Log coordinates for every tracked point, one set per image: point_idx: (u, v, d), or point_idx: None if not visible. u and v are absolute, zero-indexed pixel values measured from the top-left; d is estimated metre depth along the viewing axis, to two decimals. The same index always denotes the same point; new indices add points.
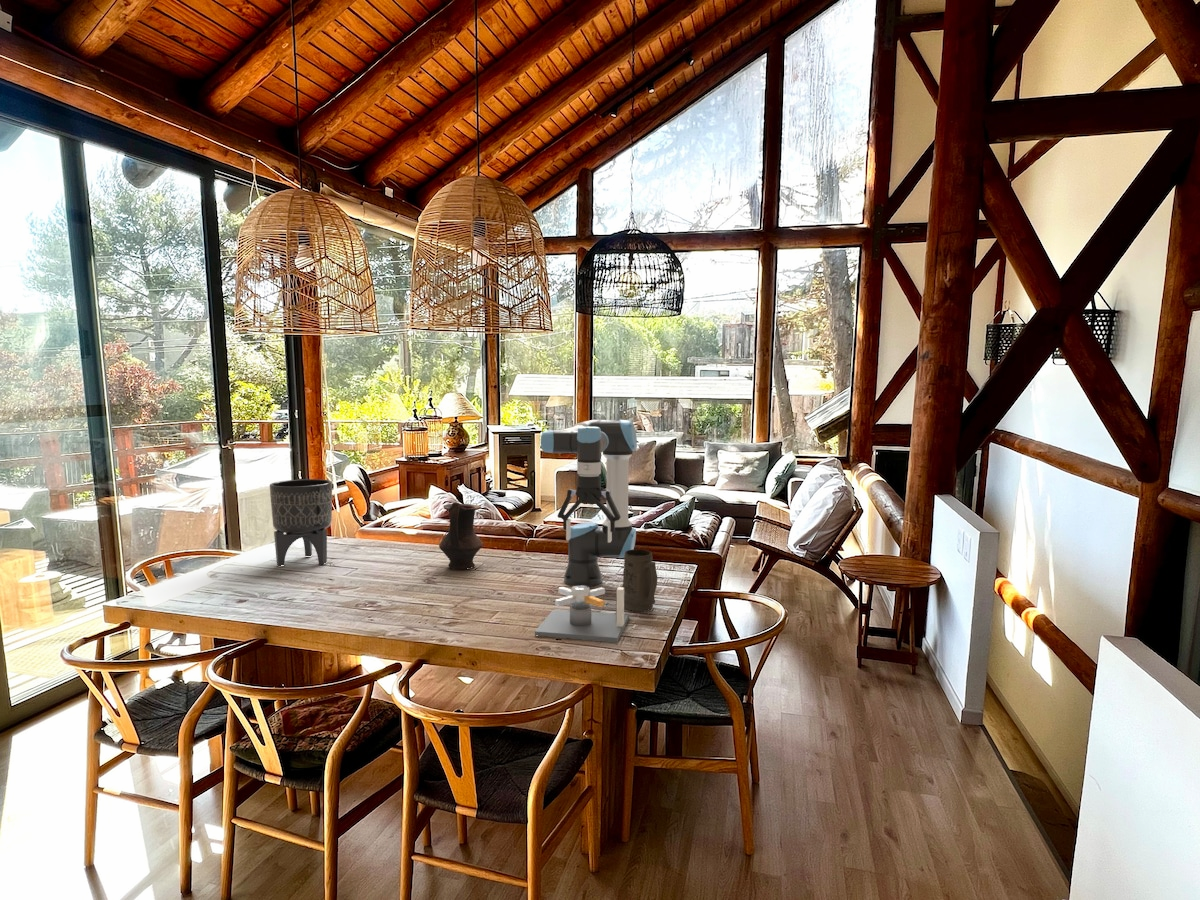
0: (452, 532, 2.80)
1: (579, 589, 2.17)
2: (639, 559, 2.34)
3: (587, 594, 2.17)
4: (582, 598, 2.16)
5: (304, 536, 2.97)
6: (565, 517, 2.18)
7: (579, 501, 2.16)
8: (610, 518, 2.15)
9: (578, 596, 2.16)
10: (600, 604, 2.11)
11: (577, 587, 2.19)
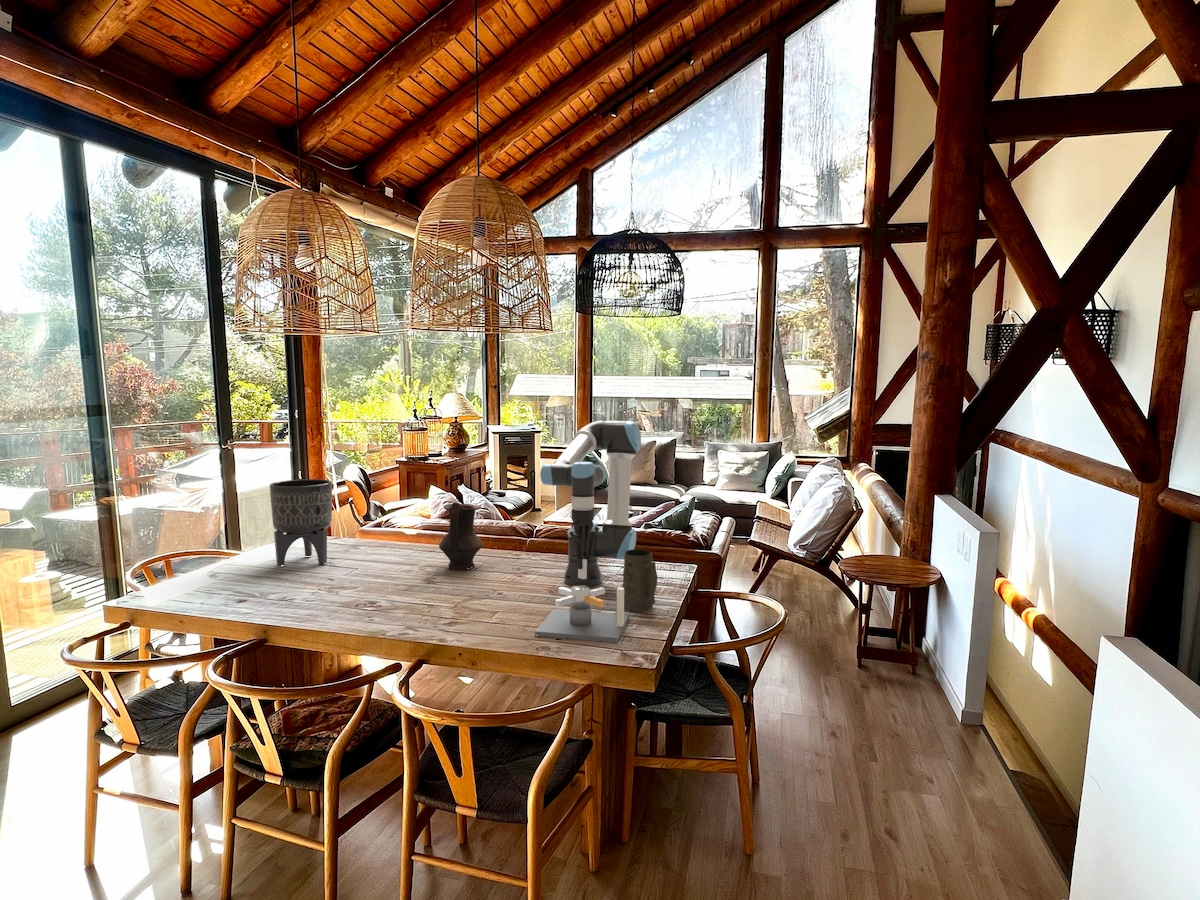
0: (452, 532, 2.80)
1: (579, 589, 2.17)
2: (639, 559, 2.34)
3: (587, 594, 2.17)
4: (582, 598, 2.16)
5: (304, 536, 2.97)
6: None
7: None
8: None
9: (578, 596, 2.16)
10: (600, 604, 2.11)
11: (577, 587, 2.19)
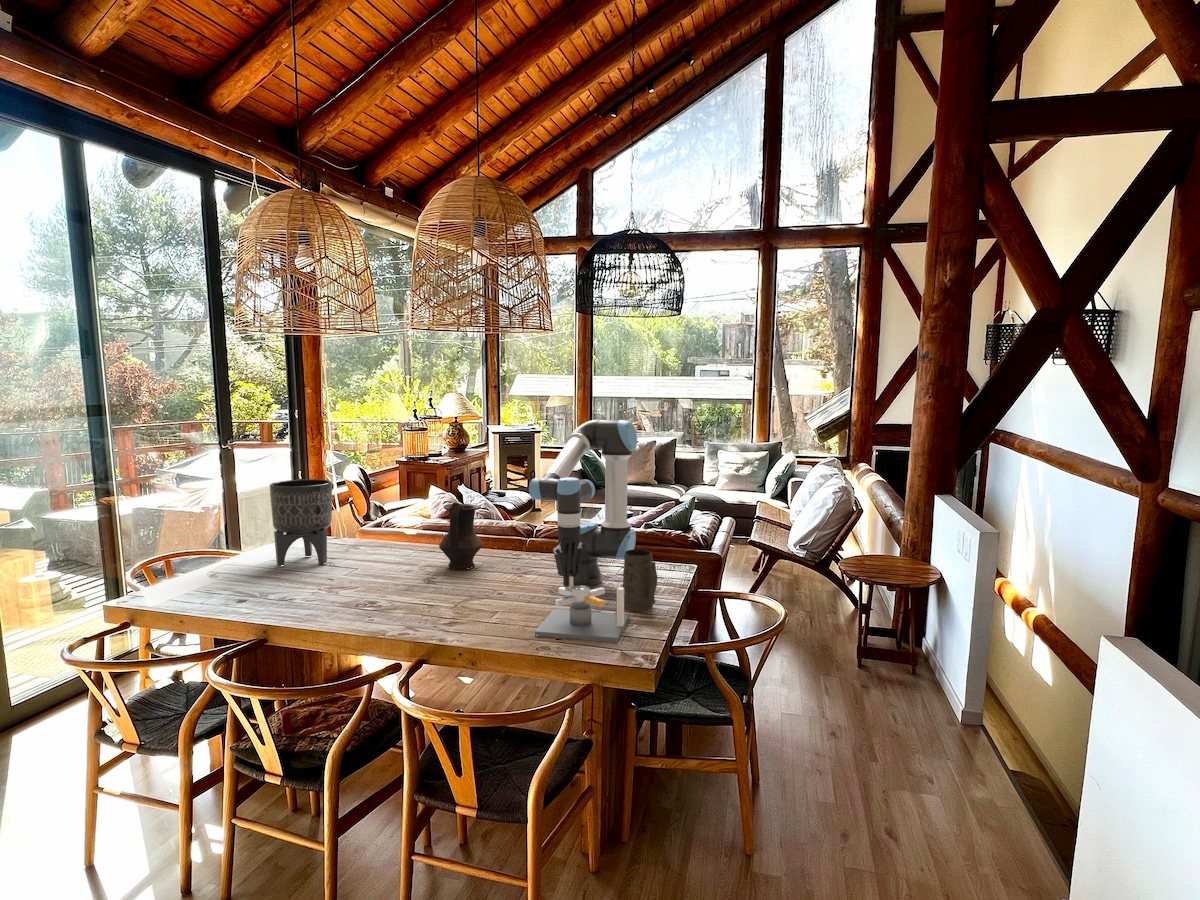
0: (452, 532, 2.80)
1: (579, 589, 2.17)
2: (639, 559, 2.34)
3: (587, 594, 2.17)
4: (582, 598, 2.16)
5: (304, 536, 2.97)
6: None
7: None
8: None
9: (578, 596, 2.16)
10: (600, 604, 2.11)
11: (577, 587, 2.19)
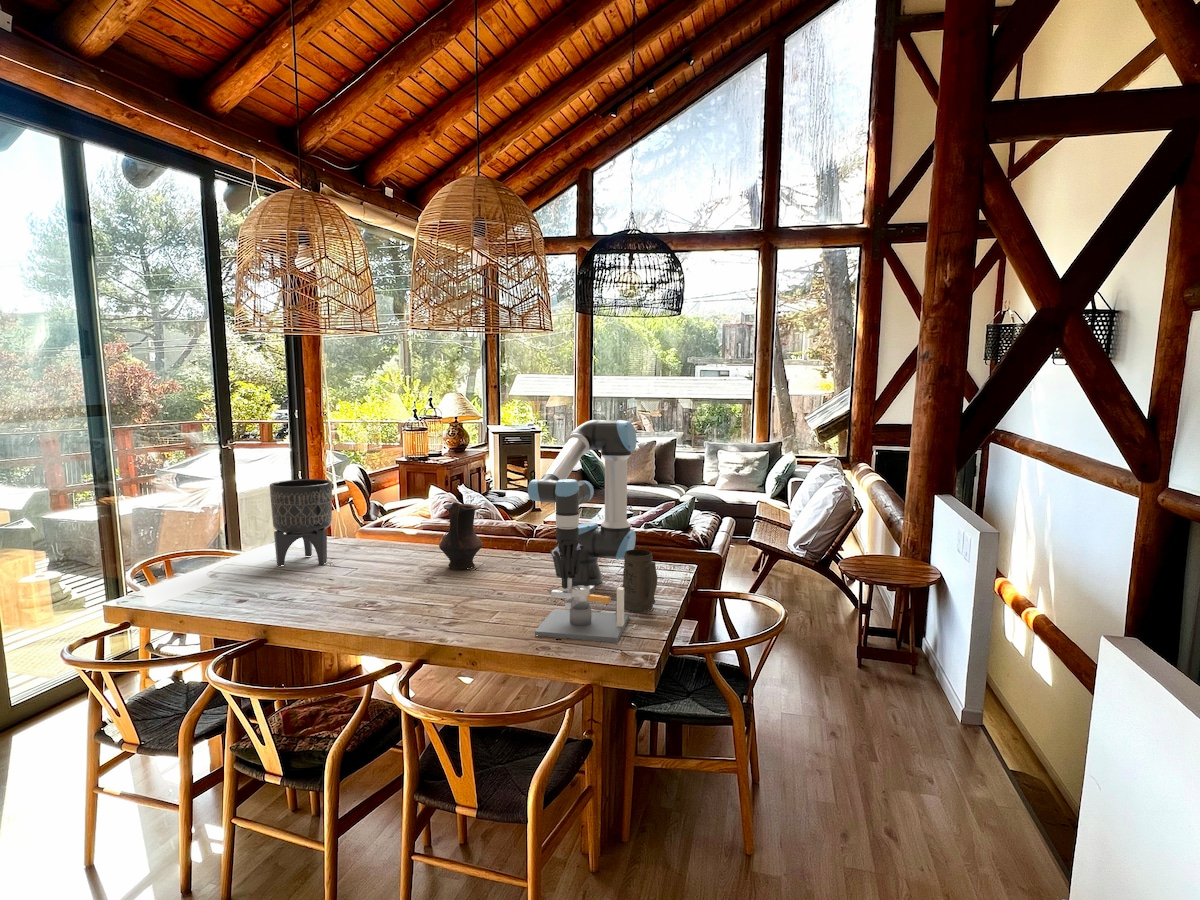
0: (452, 532, 2.80)
1: (581, 589, 2.17)
2: (639, 559, 2.34)
3: (589, 593, 2.18)
4: (586, 597, 2.16)
5: (304, 536, 2.97)
6: None
7: None
8: None
9: (582, 596, 2.16)
10: (608, 601, 2.15)
11: (576, 587, 2.19)
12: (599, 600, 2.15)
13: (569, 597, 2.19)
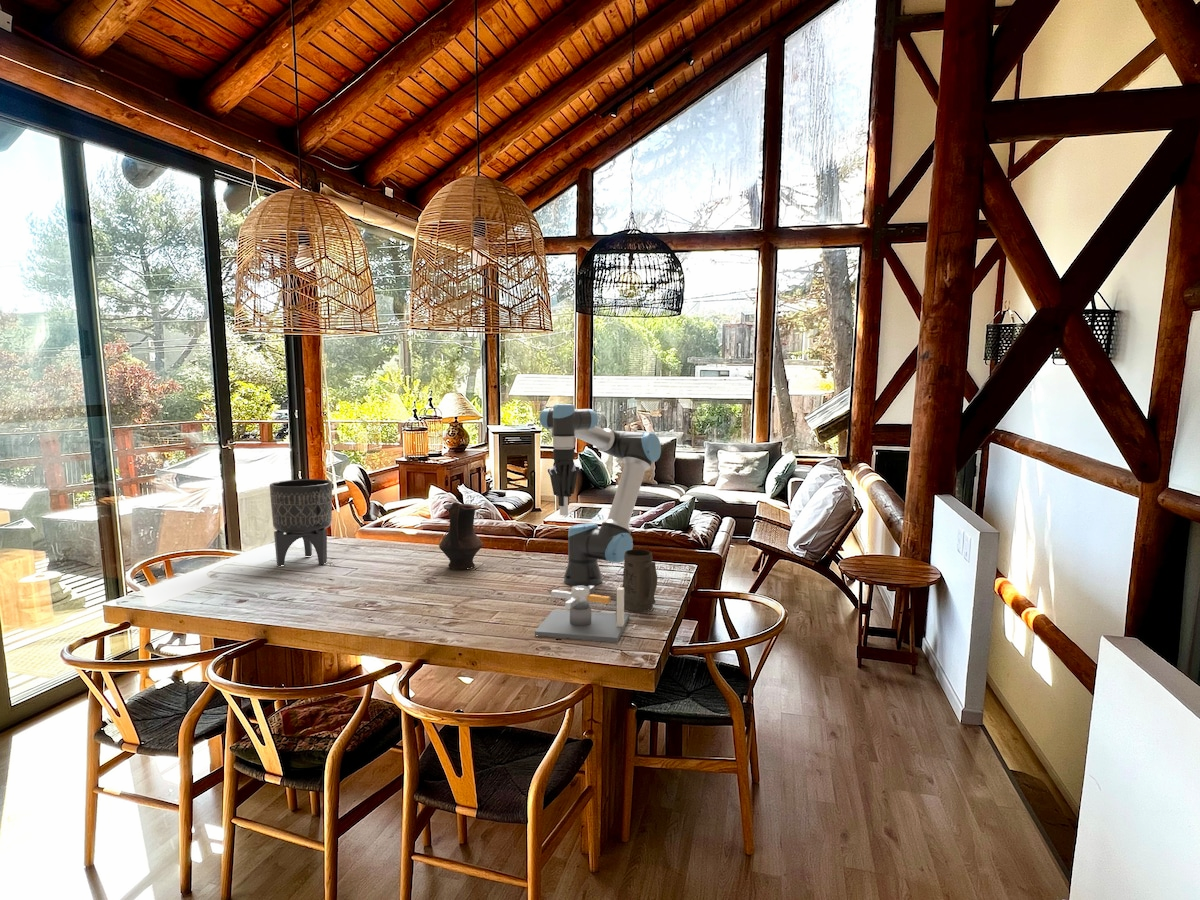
0: (452, 532, 2.80)
1: (581, 589, 2.17)
2: (639, 559, 2.34)
3: (589, 593, 2.18)
4: (586, 597, 2.16)
5: (304, 536, 2.97)
6: None
7: None
8: None
9: (582, 596, 2.16)
10: (608, 601, 2.15)
11: (576, 587, 2.19)
12: (599, 600, 2.15)
13: (569, 597, 2.19)
